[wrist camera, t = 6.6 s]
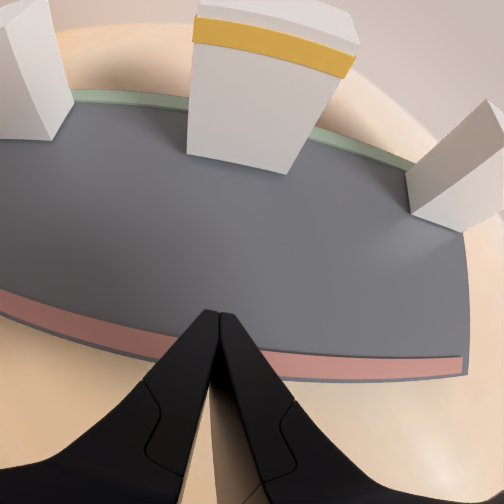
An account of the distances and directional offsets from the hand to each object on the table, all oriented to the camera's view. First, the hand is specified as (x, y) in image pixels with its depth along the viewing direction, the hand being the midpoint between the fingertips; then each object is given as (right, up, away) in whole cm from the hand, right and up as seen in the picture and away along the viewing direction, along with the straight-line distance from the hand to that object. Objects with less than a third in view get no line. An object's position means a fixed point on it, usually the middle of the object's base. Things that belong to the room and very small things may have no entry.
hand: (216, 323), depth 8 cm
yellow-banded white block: (0, +8, +7) cm, 10 cm away
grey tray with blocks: (-1, +3, +7) cm, 8 cm away
